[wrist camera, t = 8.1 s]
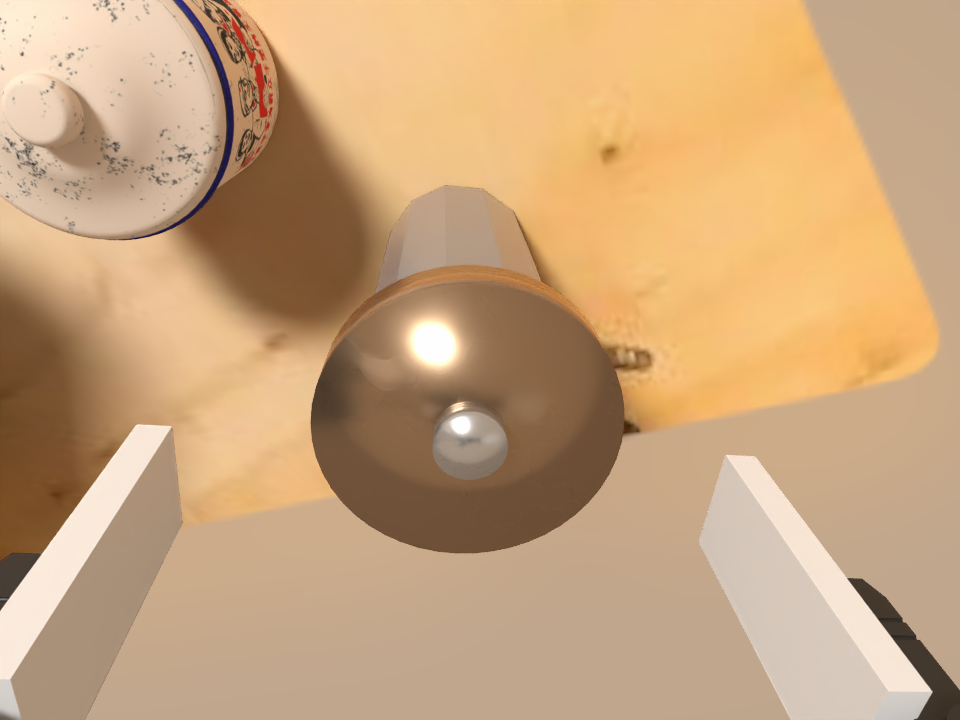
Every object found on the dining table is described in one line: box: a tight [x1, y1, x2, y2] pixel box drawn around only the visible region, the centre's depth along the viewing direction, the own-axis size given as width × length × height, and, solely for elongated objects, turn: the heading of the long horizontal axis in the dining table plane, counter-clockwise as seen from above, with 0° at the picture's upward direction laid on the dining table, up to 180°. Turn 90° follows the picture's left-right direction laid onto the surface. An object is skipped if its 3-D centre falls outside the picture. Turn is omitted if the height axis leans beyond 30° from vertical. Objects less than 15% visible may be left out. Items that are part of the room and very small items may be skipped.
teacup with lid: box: [0, 0, 279, 240], centre depth 23 cm, size 12×9×12 cm
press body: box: [375, 185, 542, 294], centre depth 28 cm, size 7×9×14 cm
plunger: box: [311, 265, 624, 553], centre depth 24 cm, size 9×9×14 cm
